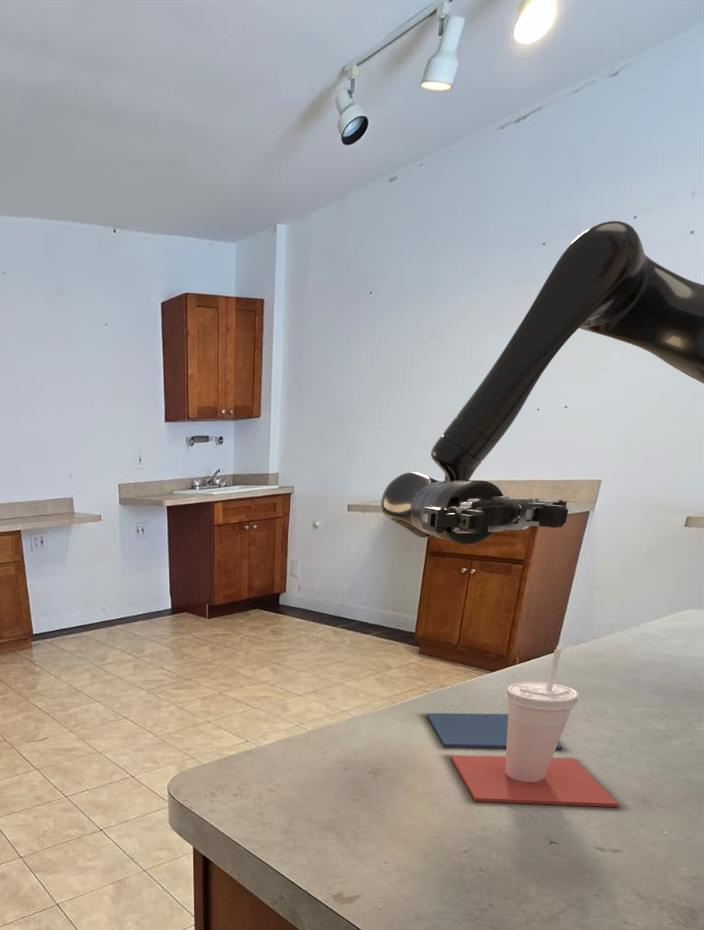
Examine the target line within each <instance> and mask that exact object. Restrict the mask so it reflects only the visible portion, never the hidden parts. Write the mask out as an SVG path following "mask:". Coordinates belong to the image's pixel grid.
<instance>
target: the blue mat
mask: <svg viewBox="0 0 704 930" xmlns="http://www.w3.org/2000/svg"><path fill="white" fill-rule="evenodd" d="M426 717H427V719H428V721H429V722H430V724H431V726H432V728H433V729H434V732H435V733H436V735H437V737H438V738H439V740H440V742H441V745H442V746H443V747H444V748H480V749H481V748H484V749H485V748H487V749H506V748H507V727H508V713H441V712H440V713H437V712H435V713H432V712H431V713H430V712H429V713H428V712H427V713H426ZM562 749H563V745H561V744H560V742H558V744H557V747H556V749H555V750H562Z"/></svg>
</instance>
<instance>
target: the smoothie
mask: <svg viewBox="0 0 704 930" xmlns="http://www.w3.org/2000/svg"><path fill="white" fill-rule="evenodd" d="M561 653H562V649H559V648H557V649H554V650H553V656H552V660H551V665H550V669H549V674H548V677H547V681H546V682H544V681H523V682H517V683H514V684H513V683H512V684H511V685H509V686H508V687H507V691H506V694H505V699H506V700H507V701H508V705H507V706H508V708H507V714H508V727H507V748H505V749H506V751H505V752H506V753H505V757H506V769H505V773H506V775H508V776H509V777H511V778H513V779H516V780H519V781H525V782H538V781H541V780H543V779H544V777H545V774H546V772H547V769H548V767H549V764H550V762H551V759H552V758H554V755H555V752H556V750H557V749H556V747H557V744H558V743H560V742H559V741H560V739H561V736H562V734H563V732H564V729H565V727H566V724H567V722H568V719H569V716H570V714H571V711H572V709H573V708H574V707H576V706H577V705H578V703H579V702H578V701H579V695H580V694H579V692H578V691H577V690H575V689H574V688H572V687H569V686H567V685H566V686H565V685H562V684H558V683H555V680H556V675H557V670H558V666H559V661H560V657H561Z"/></svg>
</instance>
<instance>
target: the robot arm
mask: <svg viewBox="0 0 704 930" xmlns="http://www.w3.org/2000/svg"><path fill="white" fill-rule="evenodd" d="M579 329H580V330H583V331H587V332H590V333H594V334H597V335H601V336H605V337H608V338H611V339H614V340H617V341H619V342H624V343H626V344H630V345H632V346H635V347H637V348H640V349H642V350H645V351H647V352H649V353H651V354H652V355H654V356H655V357H657V358H658V359H660V360H662V361H663V362H665V363H666V364H668V365H669V366H671V367H672V368H674V369H676V370H678V371H680V372H681V373H683V374H685V375H687V376H688V377H690V378H692V379H694V380H696V381H698V382H700V383H701V384H703V385H704V283H703V284H702V283H699V282H696V281H693V280H690V279H688V278H686V277H683V276H681V275H679V274H677V273H675V272H673V271H671V270H670V269H667V268H666V267H664V266H662V265H661V264H659V263H657V262H655V261H654V260H652V259H651V258H650V257H648V256H647V254H646V253H645V250H644V246H643V244H642V241H641V238H640V236H639V234H638V232H637V230H635V228H634V227H633V226H632V225H631V224H629V223H627V222H624V221H620V220H609V221H605V222H601V223H598V224H596V225H594V226H592V227H590V228H588V229H587V230H585V231H583V232H582V233H581V234H580V235H578V236H577V237H576V238H575V239H574V240H572V242H571V243H570V244H569V245H568V246H567V247H566V248H565V250H564V251H563V252H562V254H561V255H560V257H559V259H558V260H557V261H556V263H555V264H554V267H553V268H552V270H551V271H550V273H549V275H548V276H547V278H546V279H545V281H544V282H543V285H542V287H541V288H540V289H539V293H538V294H537V295H536V297H535V299H534V300H533V302H532V304H531V305H530V308H529V309H528V311H527V313H526V314H525V316H524V317H523V319H522V320H521V322H520V324H519V325H518V327H517V328H516V330H515V332H514V333H513V335H512V336H511V338H510V340H509V341H508V343H507V344H506V346H505V347H504V349H503V351H502V352H501V354H500V355H499V357H498V358H497V359H496V361H495V362H494V364H493V366H492V367H491V369H490V370H489V372H488V373H487V374H486V375H485V377H484V378H483V380H482V381H481V383H480V384H479V385H478V387H477V388H476V389H475V391H474V392H473V394H472V395H471V396H470V397H469V399H468V400H467V401H466V403H465V404H464V405H463V407H462V408H461V409H460V410H459V412H458V413H457V414H456V416H455V417H454V418H453V420H452V421H451V422H450V424H449V425H448V426H447V428H446V429H445V430H444V432H443V433H442V434H441V436H440V437H439V438H438V440H437V441H436V442H435V444H434V445H433V447H432V448H431V451H430V457H431V459H432V460H433V462H434V463H435V464H436V465H437V467H439V468H440V469H441V470H442V472H443V473H444V479H443V481H440V480H437V479H435V478H433V477H430V476H428V475H426V474H423V473H420V472H416V471H408V472H405V473H402V474H400V475H398V476H396V477H395V478H394V479H393V480H391V482H389V484H388V485H387V486H386V487H385V489H384V491H383V493H382V496H381V500H380V508H381V511H382V513H383V515H384V516H385V517H386V518H387V519H388V520H390V521H392V522H394V523H395V524H397V525H398V526H400V527H402V528H403V529H405V530H406V531H408V532H409V533H411V534H412V535H415V536H416V537H419V538H421V539H423V538H429V537H432V536H434V537H435V538H438V539H440V540H444V541H448V542H450V543H455V544H460V545H466V546H467V545H475V544H478V543H480V542H483V541H485V540H486V539H488V538H489V537H490V536H492V535H493V534H494V533H496V532H502V531H522V530H527V529H528V528H529V527H539V528H546V527H547V528H552V529H557V528H563V527H564V524H566V523H567V517H568V513H569V508H568V507H567V504H568V500H567V501H566V500H563V499H559V500H551V499H550V500H549V499H539V498H532V497H516V498H514V497H513V498H512V497H510V496H508V495H504V494H503V492H502V490H501V489H500V488H499V487H498V486H497V485H495V484H494V483H493V482H490V481H486V480H476V479H473V480H472V479H471V478H472V476H473V475H474V473H475V471H476V470H477V468H478V467H479V466H480V465H481V464H482V462H483V461H484V460H485V459H486V457H487V456H488V455H489V454H490V453H491V452H492V450H493V449H494V448H495V447H496V445H497V444H498V443H499V441H501V439H502V438H503V436H504V435H505V434H506V433H507V431H508V430H509V429H510V427H511V426H512V424H513V423H514V421H515V420H516V419H517V417H518V416H519V413H520V412H521V411H522V409H523V407H524V405H525V404H526V402H527V400H528V398H529V397H530V395H531V392H532V391H533V390H534V387H535V386H536V384H537V383H538V381H539V379H540V378H541V376H542V374H543V373H544V371H546V369H547V368H548V366H549V365H550V363H552V360H553V359H554V358H555V356H556V355H557V354H558V353H559V351H560V350H561V349H562V347H563V346H564V345H565V344H566V343H567V341H568V340H569V339H570V338H571V337H572V336H573V335H574V334H575V333H576V332H577V331H578V330H579ZM517 520H518V521H517ZM516 521H517V523H516V524H514V522H516Z"/></svg>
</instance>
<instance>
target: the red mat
mask: <svg viewBox="0 0 704 930" xmlns="http://www.w3.org/2000/svg"><path fill="white" fill-rule="evenodd" d="M450 759H451V761H452V764H453V765H454V767H455V769H456V770H457V772H458V774H459V775H460V778H461V779H462V781H463V783H464V784H465V786H466V788H467V790H468V791H469V794H470V796H471V797H472V799H473V800H474V802H480V803H481V802H482V803H483V802H485V803H486V802H487V803H509V804H533V805H555V806H557V805H558V806H559V805H561V806H580V807H581V806H582V807H583V806H585V807H603V808H604V807H605V808H607V807H608V808H618V807H619V803H618V801H616V799H615V798H614V797H612V796H611V795H610V793H609V792H607V790H605V788H603V786H602V785H601V784H600V783H599V782H598V781H597V780H596V779H595V778H594V777H593V776H592V775H591V774H590V773H589V772H588V771H587V770H586V769H585V768H584V767H583V766H582V765H581V764H580V763H579V761H577V760H576V759H575V758H564V757H562V758H561V757H552V759H551V762H550V764H549V767H548V769H547V772H546V774H545V777H544V779H543V780H541V781H538V782H525V781H519V780H516V779H513V778H511V777H509V776H508V775H506V773H505V769H506V756H491V755H490V756H489V755H487V756H486V755H454V754H453V755H450Z"/></svg>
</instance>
